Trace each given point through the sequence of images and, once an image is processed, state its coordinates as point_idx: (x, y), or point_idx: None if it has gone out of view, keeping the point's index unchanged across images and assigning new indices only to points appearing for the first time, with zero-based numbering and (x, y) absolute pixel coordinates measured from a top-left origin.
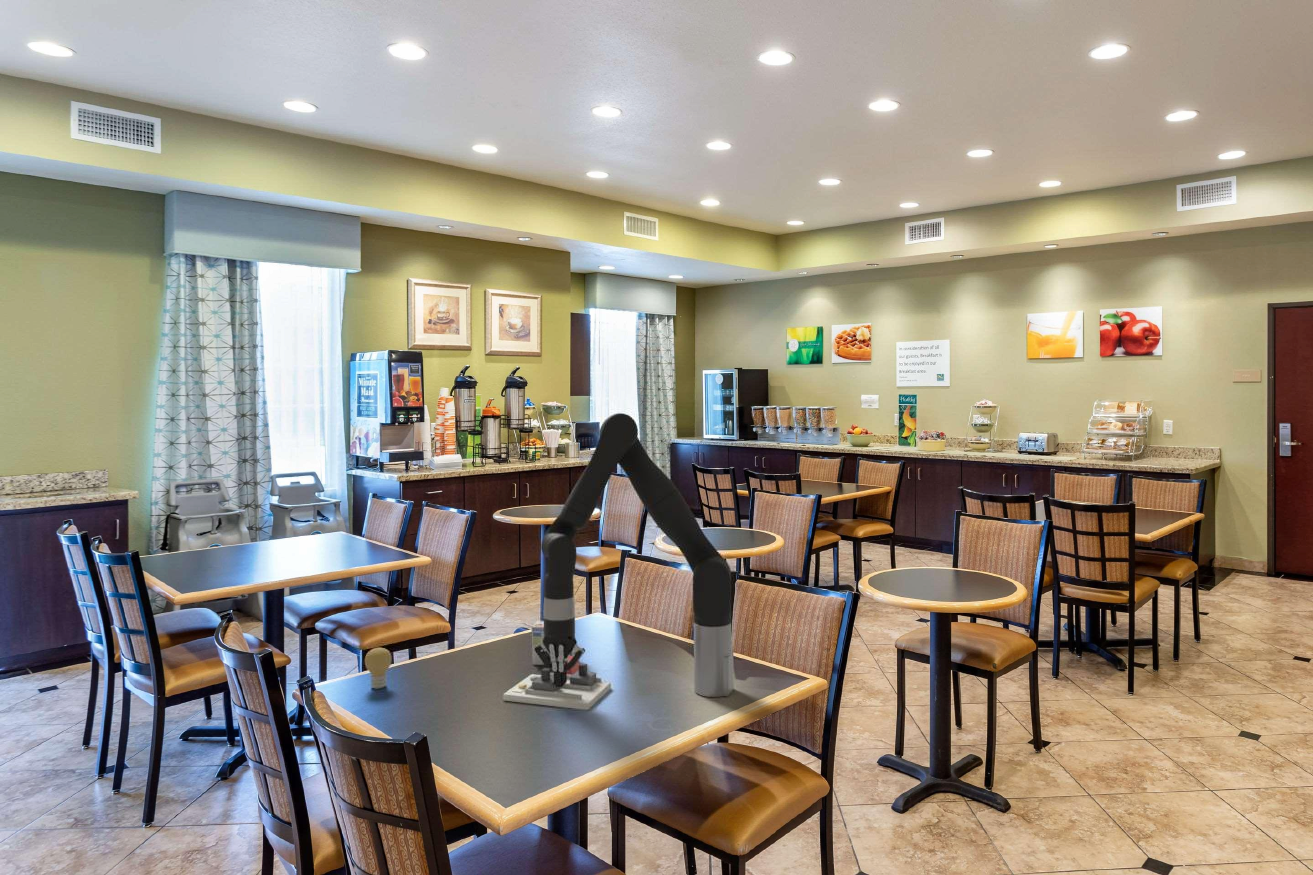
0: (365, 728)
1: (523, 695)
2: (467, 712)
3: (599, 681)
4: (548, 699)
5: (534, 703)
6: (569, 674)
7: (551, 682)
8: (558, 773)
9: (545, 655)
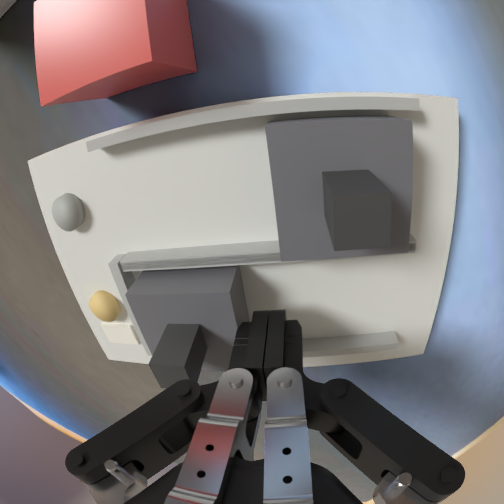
0: (76, 437)
1: None
2: (120, 405)
3: (406, 110)
4: None
5: None
6: (171, 71)
7: None
8: None
9: (159, 459)
